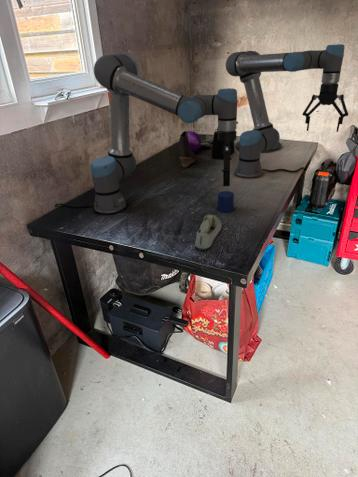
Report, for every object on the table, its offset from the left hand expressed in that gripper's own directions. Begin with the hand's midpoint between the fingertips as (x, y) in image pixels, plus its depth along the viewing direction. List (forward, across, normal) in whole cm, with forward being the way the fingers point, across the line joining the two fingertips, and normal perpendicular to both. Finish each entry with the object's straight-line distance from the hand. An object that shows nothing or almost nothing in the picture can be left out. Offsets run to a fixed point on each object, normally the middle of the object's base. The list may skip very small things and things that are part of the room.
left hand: (226, 180), depth 144 cm
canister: (+14, 0, 0) cm, 14 cm away
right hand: (-12, +36, -46) cm, 59 cm away
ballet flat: (+14, -25, +6) cm, 29 cm away
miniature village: (+14, +108, -21) cm, 110 cm away
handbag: (+14, +86, +3) cm, 87 cm away
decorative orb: (+13, +92, +26) cm, 97 cm away
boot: (+13, +70, +25) cm, 76 cm away
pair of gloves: (+13, +116, +14) cm, 118 cm away
